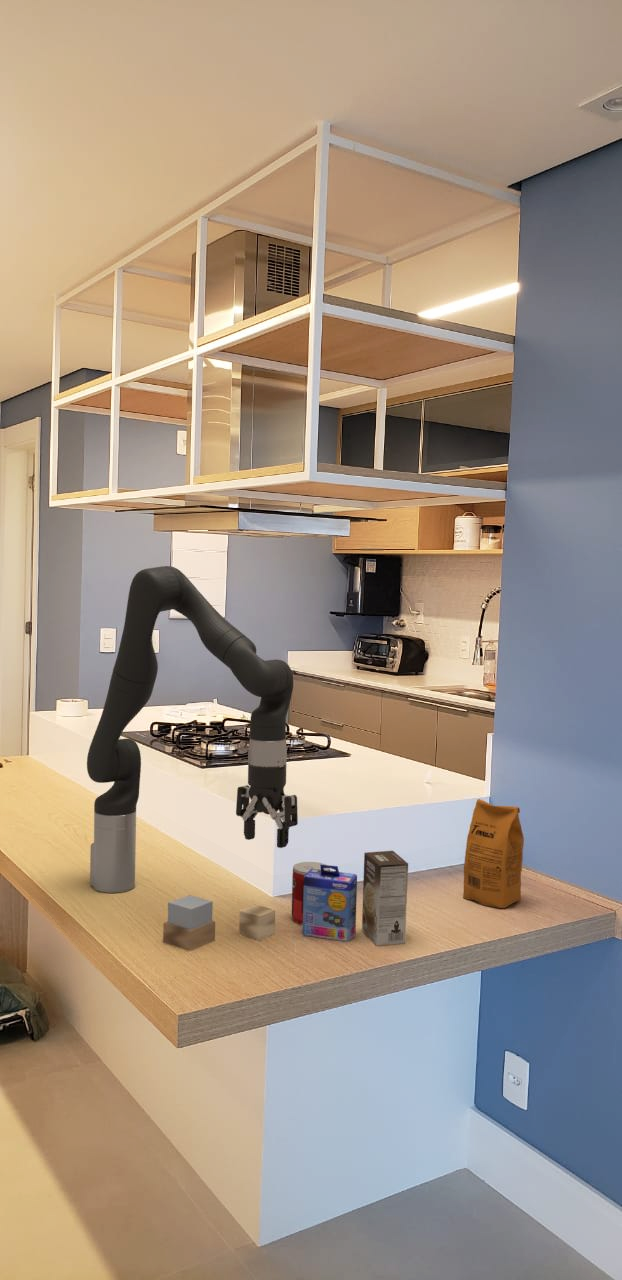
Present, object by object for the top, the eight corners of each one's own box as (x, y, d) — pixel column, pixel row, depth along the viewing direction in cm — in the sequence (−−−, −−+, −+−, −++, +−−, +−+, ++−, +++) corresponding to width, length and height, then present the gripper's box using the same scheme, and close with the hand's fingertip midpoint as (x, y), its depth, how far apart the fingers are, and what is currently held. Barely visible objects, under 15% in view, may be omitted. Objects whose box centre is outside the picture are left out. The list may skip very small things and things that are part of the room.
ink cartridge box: (300, 936, 196) (302, 864, 195) (308, 927, 202) (310, 856, 201) (349, 942, 194) (351, 869, 193) (356, 933, 199) (358, 861, 198)
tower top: (167, 923, 191) (168, 902, 191) (189, 914, 196) (189, 894, 195) (190, 930, 187) (191, 909, 187) (212, 921, 192) (212, 901, 192)
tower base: (163, 943, 191) (163, 922, 191) (187, 933, 197) (188, 913, 197) (190, 952, 187) (190, 931, 187) (214, 941, 193) (215, 921, 193)
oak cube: (239, 935, 196) (239, 910, 196) (254, 928, 200) (255, 904, 200) (259, 941, 193) (259, 916, 193) (274, 934, 197) (275, 909, 197)
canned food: (307, 910, 212) (308, 859, 211) (336, 919, 207) (338, 867, 206) (283, 919, 206) (284, 866, 205) (313, 928, 201) (314, 875, 200)
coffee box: (360, 929, 201) (362, 851, 200) (390, 927, 203) (392, 849, 202) (376, 946, 192) (378, 864, 191) (407, 943, 194) (409, 862, 193)
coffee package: (481, 888, 230) (485, 794, 228) (527, 902, 221) (531, 804, 220) (454, 897, 223) (458, 800, 222) (501, 912, 214) (505, 810, 213)
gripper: (227, 759, 197) (226, 840, 198) (281, 768, 188) (280, 853, 189) (253, 754, 203) (252, 833, 204) (307, 764, 194) (305, 846, 195)
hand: (265, 843), depth 197 cm, fingers open, 8 cm apart
